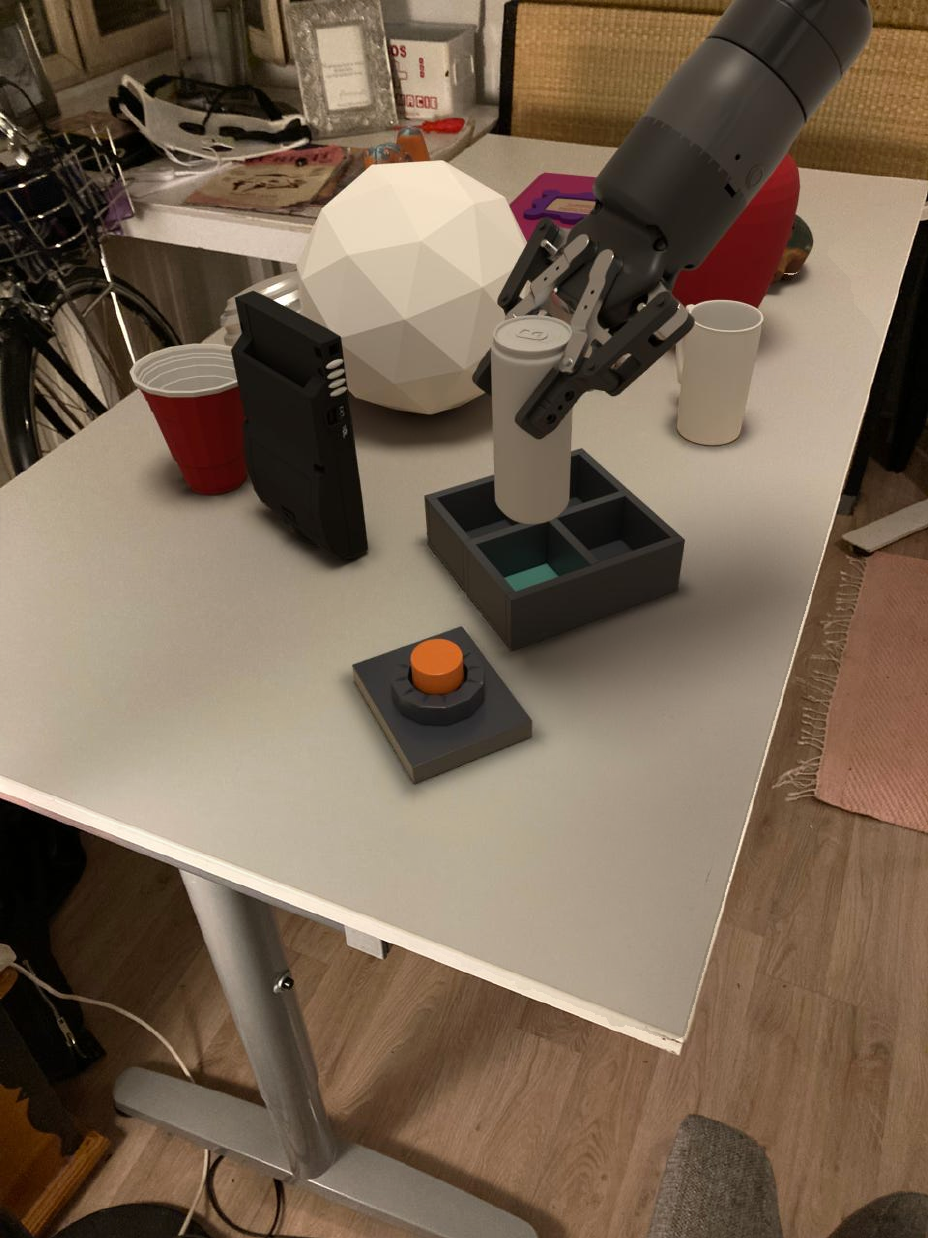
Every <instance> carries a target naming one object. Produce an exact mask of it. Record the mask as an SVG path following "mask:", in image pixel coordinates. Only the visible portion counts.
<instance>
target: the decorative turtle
mask: <svg viewBox="0 0 928 1238" xmlns="http://www.w3.org/2000/svg"><path fill="white" fill-rule="evenodd" d="M813 235H814V234H813V232H812V230H811V228H810V226H809V225H808V223H807V222H806V221H805V220H804V219H803V218H802V217H801V216H799V215H798V214H797V213H796V214H795V218H794V222H793V226H792V229H791V232H790V236H789V239H788V242H787V245H786V248H785V251H784V253H783V256H782V258H781V261H780V264H779V266H778V269H777V271H776V273H775V275H774V278H773V280H772V282H771V284H775V283H777V282H778V281H780V280H781V279H782V277H783V278H784V280H792V279H794V278H795V277H796V276H797V274H794V275H788V274H784V273H796V272H798V271H799V272H800V270H801V269H802V268H803V266H804V264H805V263H806V261H807V259H808V258H809V256H810V254H811V252H812V249H813V246H814V236H813ZM799 272H798V273H799Z"/></svg>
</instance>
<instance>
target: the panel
mask: <svg viewBox="0 0 928 1238" xmlns="http://www.w3.org/2000/svg"><path fill="white" fill-rule="evenodd" d="M432 639H444V640H448V641H451V642H453V643H455V644H456V645H457V646H458V647H459V648H460V649H461V651H462V654H463V671H464V678H463V682H462V683H461V685H460V686H459V687H458V688H457V689H456V690H455V691H453V692H451V693H448V694H445V695H428V694H425V693H423V692H421V691H420V690H418V689H417V688H416V687H415V685H414V683H413V680H412V670H411V660H410V658H411V653H412V651H413V650H414V648H415V647H416V646H418V645H419V644H420V643H422V642H425V641H428V640H432ZM351 667H352V673H353V674H352V675H353V680H354V682H355V683H354V684H356V686H357V688H358V690H359V691H360V694H361V695H362V696H363V698H364V700H365V701H366V703H367V705H368V707H369V708H370V710H371V712H372V713H373V715H374V717H375V719H376V720H377V722H378V724H379V726H380V727H381V729H382V731H383V732H384V734H385V736H386V738H387V739H388V741H389V743H390V745H391V746H392V748H393V750H394V751H395V753H396V755H397V757H398V758H399V761H400V762H401V764H402V766H403V767H404V769H405V770H406V771H405V772H407V774H408V776H409V777H410V779H411V781H412V782H413V784H417V783H420V782H423V781H425V780H428V779H430V778H432V777H435V776H438V775H441V774H442V773H445V772H448V771H450V770H452V769H455V768H458V767H460V766H463V765H465V764H467V763H469V762H473V761H475V760H477V759H480V758H482V757H485V756H487V755H490V754H493V753H495V752H497V751H499V750H502V749H505V748H507V747H510V746H512V745H514V744H518V743H520V742H522V741H524V740H527V739H529V738H532V736H533V719H532V718H531V717H530V715H529V714H528V713H527V711H526V710H525V709H524V708H523V706H522V704H521V703H520V702H519V701H518V700H517V698H516V697H515V695H514V693H513V692H512V691H511V690H510V689H509V687H508V686H507V684H506V683H505V682H504V681H503V679H502V678H501V676H500V675H499V674H498V672H497V671H496V670H495V668H494V667H493V666H492V665H491V663H490V661H488V659H487V658H486V656H485V655H484V654H483V652H482V651H481V650H480V649H479V647H478V645H477V644H476V643H475V642H474V640H473V639H472V638H471V636H470V635H469V634H468V632H467V631H466V629H465V628H464V626H458V627H454V628H452V629H449V630H445V631H444V632H441V633H438V634H434V635H432V636H428V637H427V638H424V639H421V640H419V641H415V642H413V643H409V644H407V645H403V646H401V647H398V648H396V649H392V650H389V651H387V652H384V653H381V654H378V655H376V656H373V657H370V658H367V659H365V660H361V661H359V662H356V663H352V665H351Z"/></svg>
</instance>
